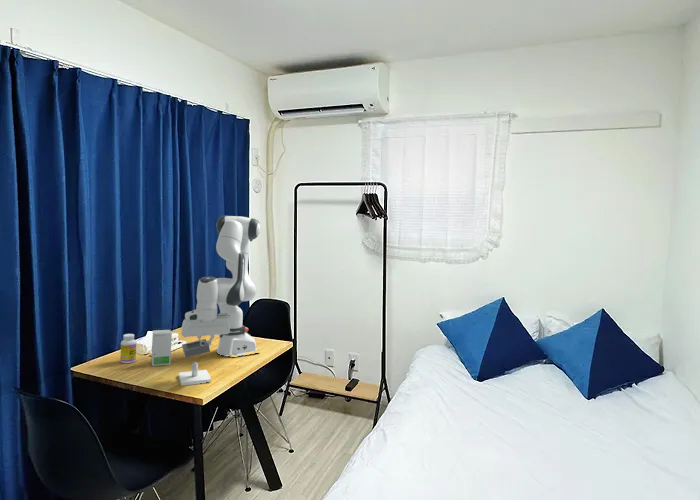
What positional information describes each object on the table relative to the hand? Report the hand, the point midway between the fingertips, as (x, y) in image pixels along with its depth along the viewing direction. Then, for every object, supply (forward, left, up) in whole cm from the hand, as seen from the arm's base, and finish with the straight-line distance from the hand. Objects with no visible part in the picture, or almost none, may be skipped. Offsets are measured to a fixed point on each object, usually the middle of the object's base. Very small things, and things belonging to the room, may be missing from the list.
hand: (205, 345), depth 193 cm
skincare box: (+16, -25, -15) cm, 34 cm away
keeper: (+4, 0, -15) cm, 16 cm away
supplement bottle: (+30, -32, -15) cm, 47 cm away
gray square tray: (+4, 0, -2) cm, 4 cm away
